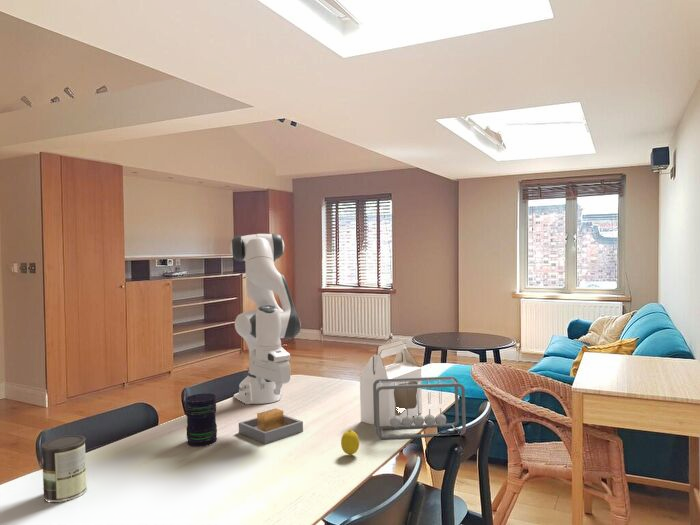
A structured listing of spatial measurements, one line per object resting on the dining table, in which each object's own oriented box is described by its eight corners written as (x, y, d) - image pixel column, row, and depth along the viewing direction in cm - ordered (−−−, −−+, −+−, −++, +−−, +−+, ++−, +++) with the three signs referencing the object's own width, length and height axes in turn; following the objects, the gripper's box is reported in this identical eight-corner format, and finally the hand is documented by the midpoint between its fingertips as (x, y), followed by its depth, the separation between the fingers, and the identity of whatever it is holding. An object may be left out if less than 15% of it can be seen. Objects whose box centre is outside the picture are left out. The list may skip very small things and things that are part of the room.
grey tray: (238, 432, 182) (238, 422, 182) (276, 421, 193) (275, 412, 193) (265, 443, 170) (264, 433, 170) (303, 431, 182) (302, 421, 182)
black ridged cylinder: (223, 438, 177) (222, 395, 176) (203, 448, 168) (202, 402, 168) (200, 434, 181) (199, 392, 181) (180, 444, 172) (178, 399, 172)
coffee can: (35, 504, 132) (33, 449, 132) (54, 486, 143) (52, 435, 142) (77, 501, 133) (75, 447, 133) (93, 484, 144) (91, 433, 143)
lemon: (361, 453, 160) (361, 427, 160) (356, 460, 155) (355, 433, 155) (344, 451, 162) (344, 426, 162) (338, 458, 157) (338, 432, 157)
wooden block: (257, 430, 181) (257, 413, 181) (276, 424, 186) (275, 408, 186) (265, 433, 177) (264, 416, 177) (283, 427, 183) (283, 410, 183)
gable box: (389, 429, 182) (387, 349, 181) (360, 422, 190) (358, 346, 190) (422, 412, 199) (420, 340, 199) (394, 406, 208) (392, 337, 207)
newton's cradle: (376, 440, 172) (375, 386, 171) (374, 429, 182) (372, 379, 182) (466, 436, 173) (465, 383, 173) (458, 425, 183) (457, 375, 183)
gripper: (244, 349, 187) (245, 387, 187) (278, 358, 172) (278, 399, 172) (259, 346, 191) (259, 383, 192) (293, 355, 176) (293, 395, 177)
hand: (269, 391), depth 182 cm, fingers open, 8 cm apart
